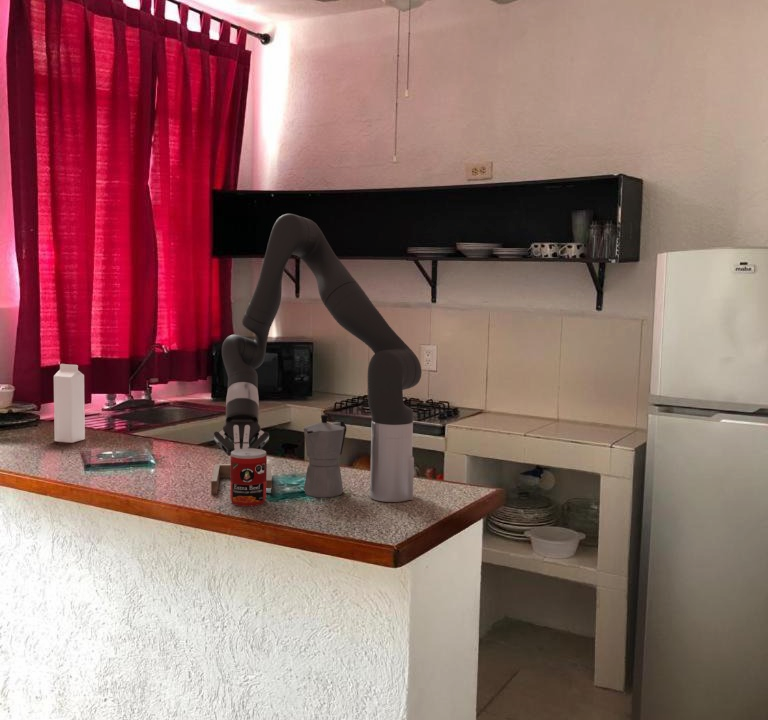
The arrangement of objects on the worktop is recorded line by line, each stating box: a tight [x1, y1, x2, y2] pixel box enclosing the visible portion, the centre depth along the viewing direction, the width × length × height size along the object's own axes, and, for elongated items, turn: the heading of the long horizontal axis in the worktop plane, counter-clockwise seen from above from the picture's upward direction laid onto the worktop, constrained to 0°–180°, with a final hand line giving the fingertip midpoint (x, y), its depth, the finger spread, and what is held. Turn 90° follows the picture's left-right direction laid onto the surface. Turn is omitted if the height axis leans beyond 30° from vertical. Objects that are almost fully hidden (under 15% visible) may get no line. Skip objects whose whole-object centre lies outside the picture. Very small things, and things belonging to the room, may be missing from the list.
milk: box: [53, 363, 86, 444], centre depth 249 cm, size 6×6×22 cm
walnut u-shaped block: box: [210, 463, 273, 495], centre depth 202 cm, size 13×17×3 cm
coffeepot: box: [303, 413, 347, 498], centre depth 197 cm, size 15×9×18 cm, turn 150°
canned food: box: [230, 448, 268, 507], centre depth 187 cm, size 8×8×11 cm
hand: (240, 469), depth 191 cm, fingers closed
